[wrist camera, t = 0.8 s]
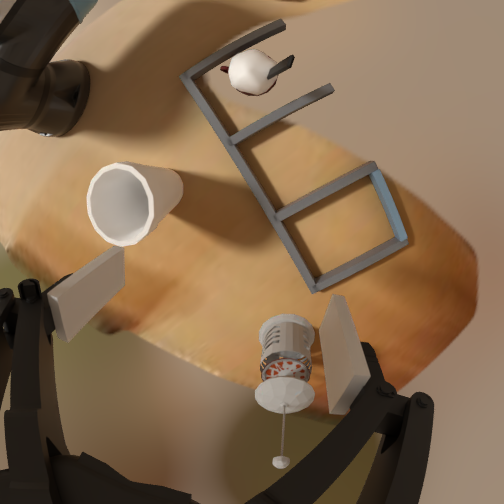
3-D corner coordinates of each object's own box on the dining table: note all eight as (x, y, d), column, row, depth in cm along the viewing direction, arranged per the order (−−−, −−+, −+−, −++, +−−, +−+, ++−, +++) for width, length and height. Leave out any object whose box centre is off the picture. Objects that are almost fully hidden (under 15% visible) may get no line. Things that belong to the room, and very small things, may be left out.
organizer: (183, 79, 33) (177, 75, 31) (281, 24, 29) (280, 17, 26) (311, 288, 42) (312, 295, 40) (403, 239, 37) (410, 245, 35)
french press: (322, 319, 44) (340, 452, 20) (303, 367, 48) (303, 487, 25) (264, 308, 44) (243, 442, 21) (252, 358, 48) (228, 478, 25)
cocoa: (220, 80, 33) (188, 55, 22) (247, 49, 31) (226, 13, 20) (272, 117, 34) (260, 101, 23) (301, 85, 32) (301, 56, 21)
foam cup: (187, 151, 37) (144, 153, 25) (199, 212, 40) (163, 239, 28) (132, 167, 39) (79, 176, 26) (145, 223, 42) (98, 250, 29)
